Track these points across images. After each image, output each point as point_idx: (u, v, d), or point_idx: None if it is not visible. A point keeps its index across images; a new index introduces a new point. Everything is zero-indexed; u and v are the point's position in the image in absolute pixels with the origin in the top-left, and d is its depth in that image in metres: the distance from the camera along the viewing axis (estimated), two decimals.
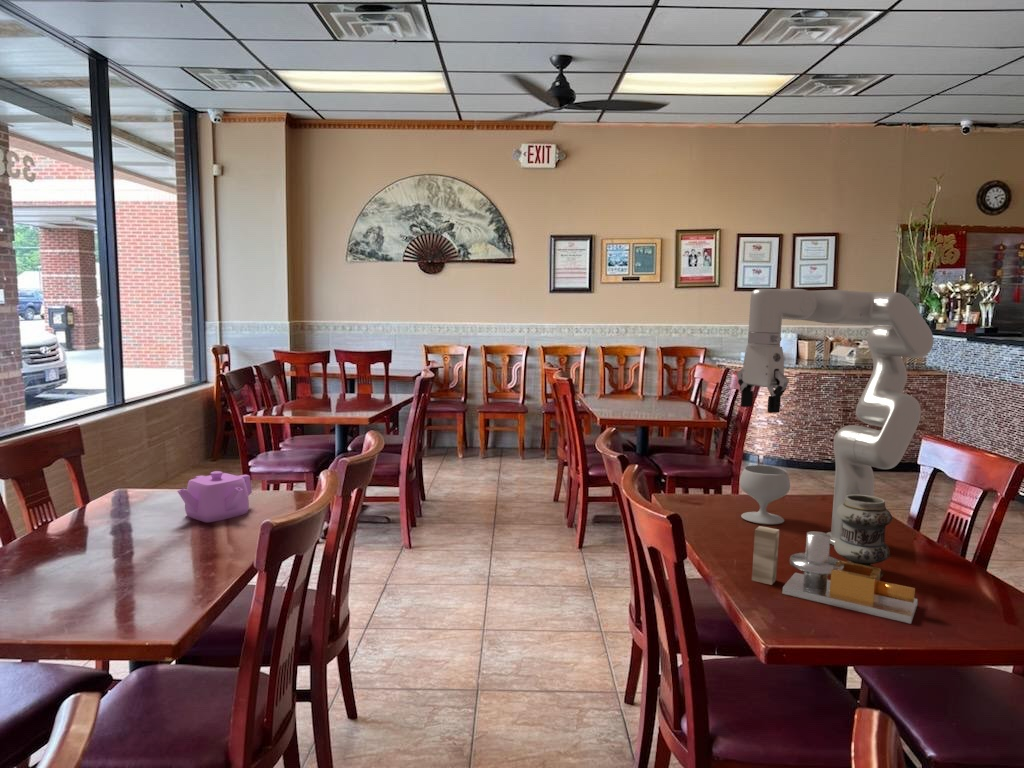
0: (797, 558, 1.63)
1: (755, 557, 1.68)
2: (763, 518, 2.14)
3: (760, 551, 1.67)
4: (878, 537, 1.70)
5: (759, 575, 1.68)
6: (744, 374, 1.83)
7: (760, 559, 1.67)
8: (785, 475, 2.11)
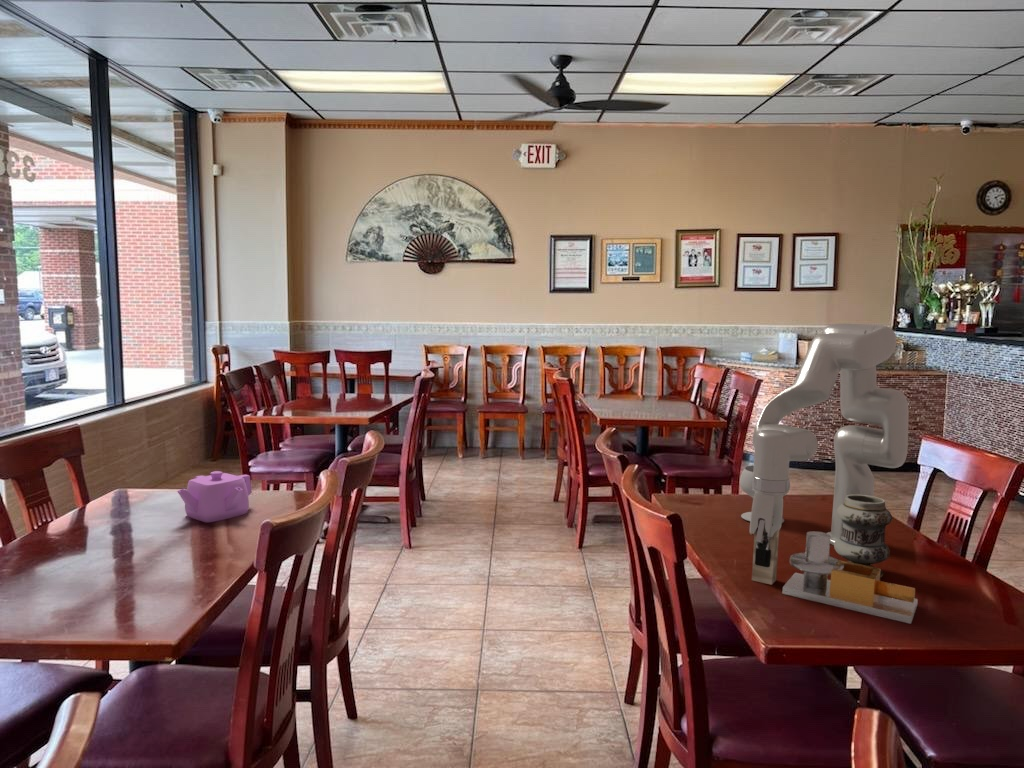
0: (797, 558, 1.63)
1: None
2: None
3: None
4: (878, 537, 1.70)
5: (759, 575, 1.68)
6: (772, 528, 1.63)
7: None
8: None
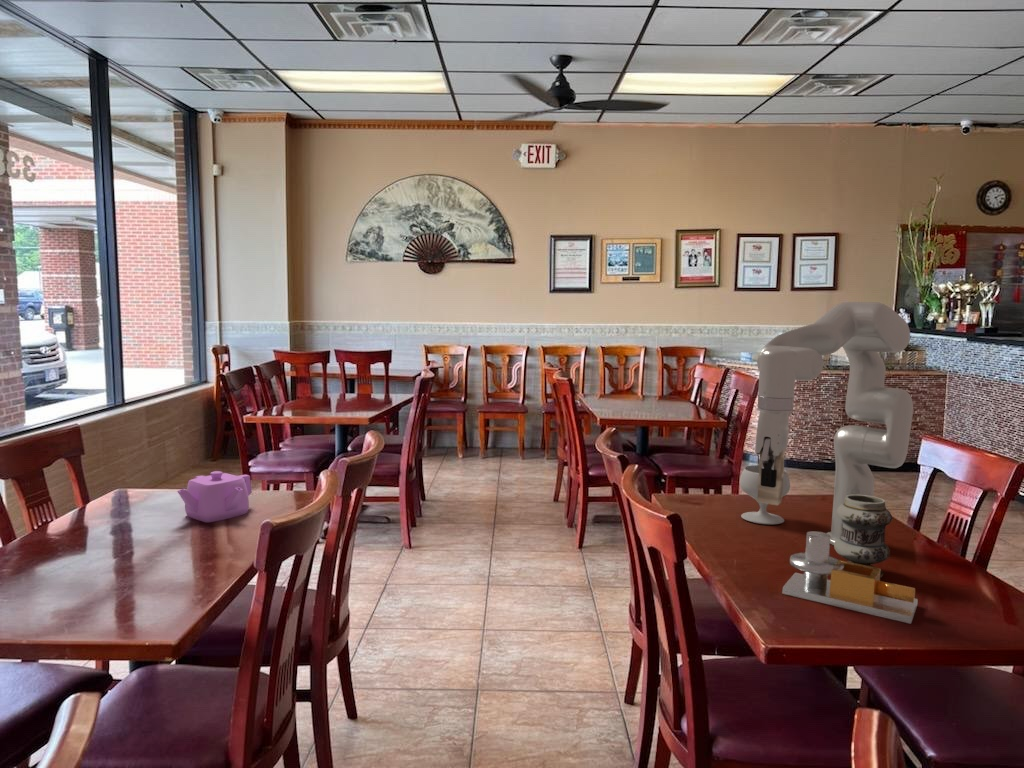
0: (797, 558, 1.63)
1: (760, 478, 1.66)
2: (763, 518, 2.14)
3: None
4: (878, 537, 1.70)
5: (765, 496, 1.66)
6: (778, 447, 1.61)
7: None
8: (785, 475, 2.11)
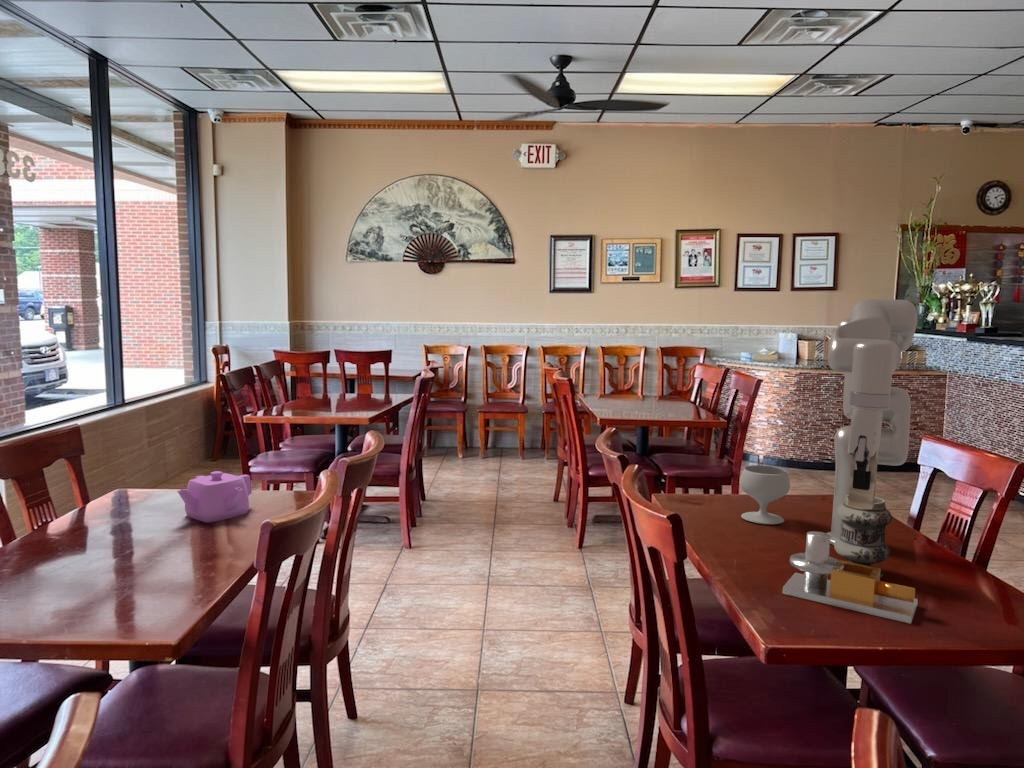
0: (797, 558, 1.63)
1: (852, 480, 1.55)
2: (763, 518, 2.14)
3: None
4: (878, 537, 1.70)
5: (857, 500, 1.55)
6: (874, 446, 1.50)
7: None
8: (785, 475, 2.11)
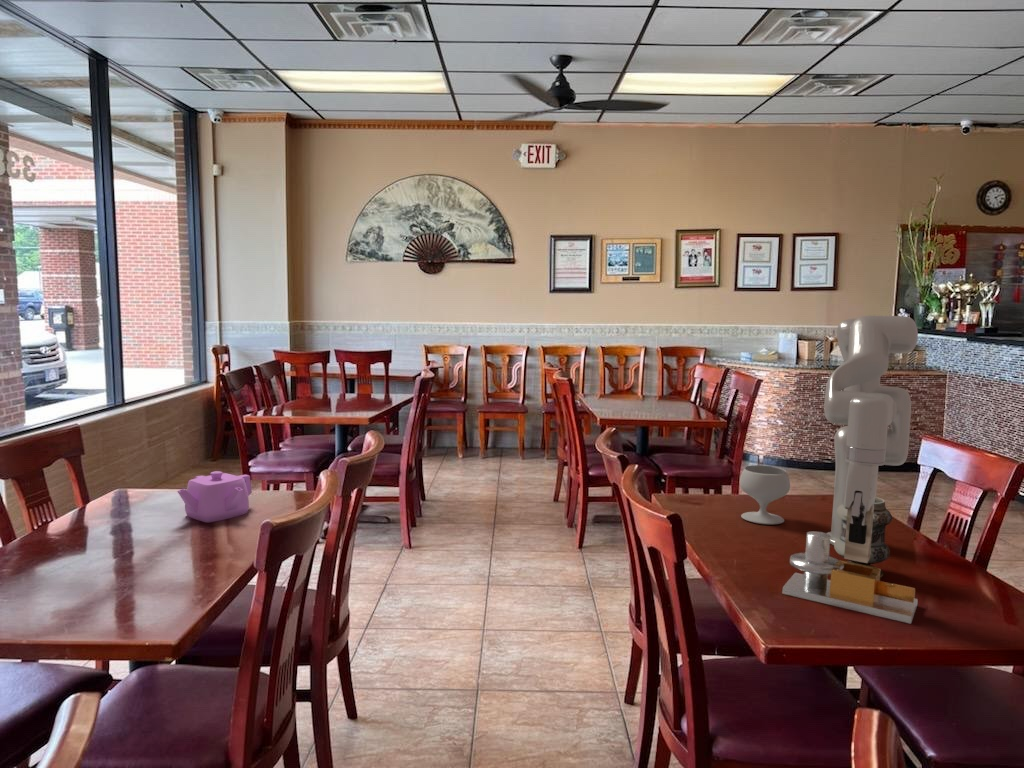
0: (797, 558, 1.63)
1: (848, 533, 1.56)
2: (763, 518, 2.14)
3: None
4: (878, 537, 1.70)
5: (853, 553, 1.56)
6: (870, 501, 1.51)
7: None
8: (785, 475, 2.11)
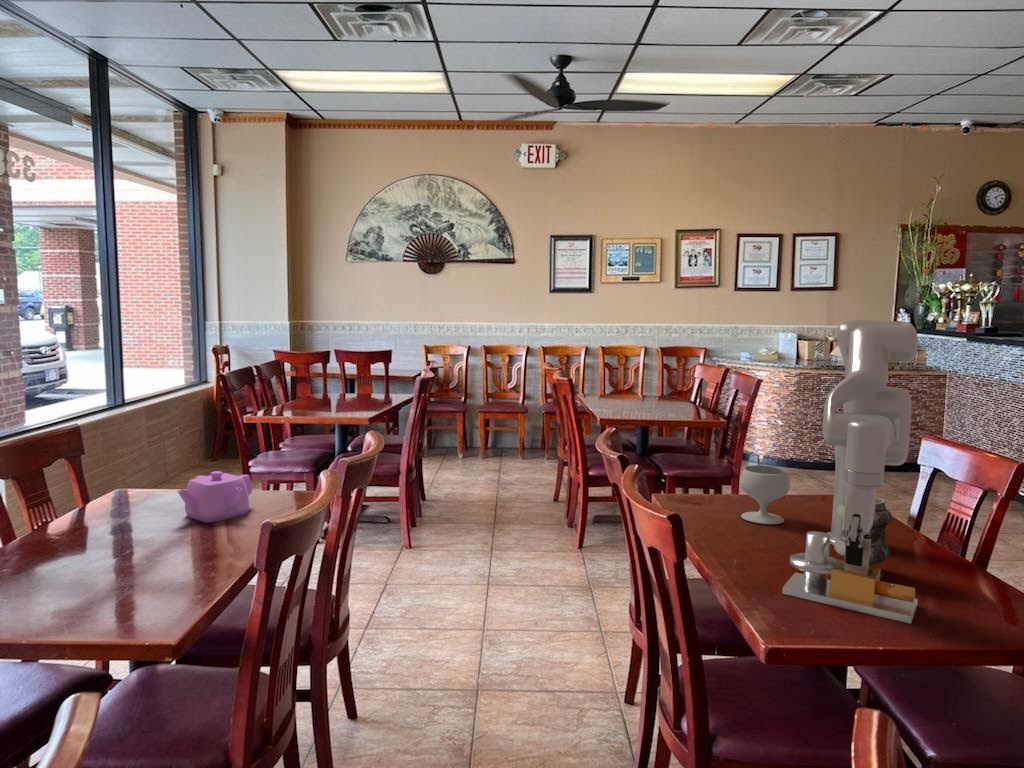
0: (797, 558, 1.63)
1: (846, 570, 1.57)
2: (763, 518, 2.14)
3: None
4: (878, 537, 1.70)
5: None
6: (868, 525, 1.52)
7: (852, 571, 1.56)
8: (785, 475, 2.11)
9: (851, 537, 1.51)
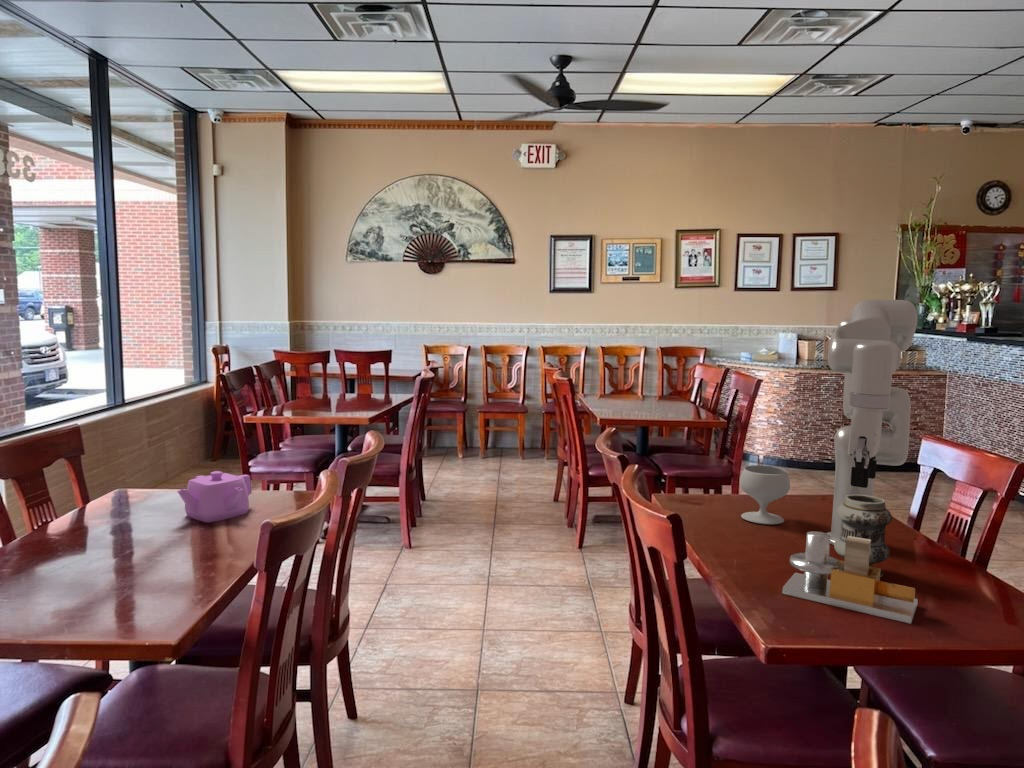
0: (797, 558, 1.63)
1: (846, 570, 1.57)
2: (763, 518, 2.14)
3: (851, 563, 1.56)
4: (878, 537, 1.70)
5: None
6: (874, 447, 1.50)
7: (852, 571, 1.56)
8: (785, 475, 2.11)
9: (857, 456, 1.48)
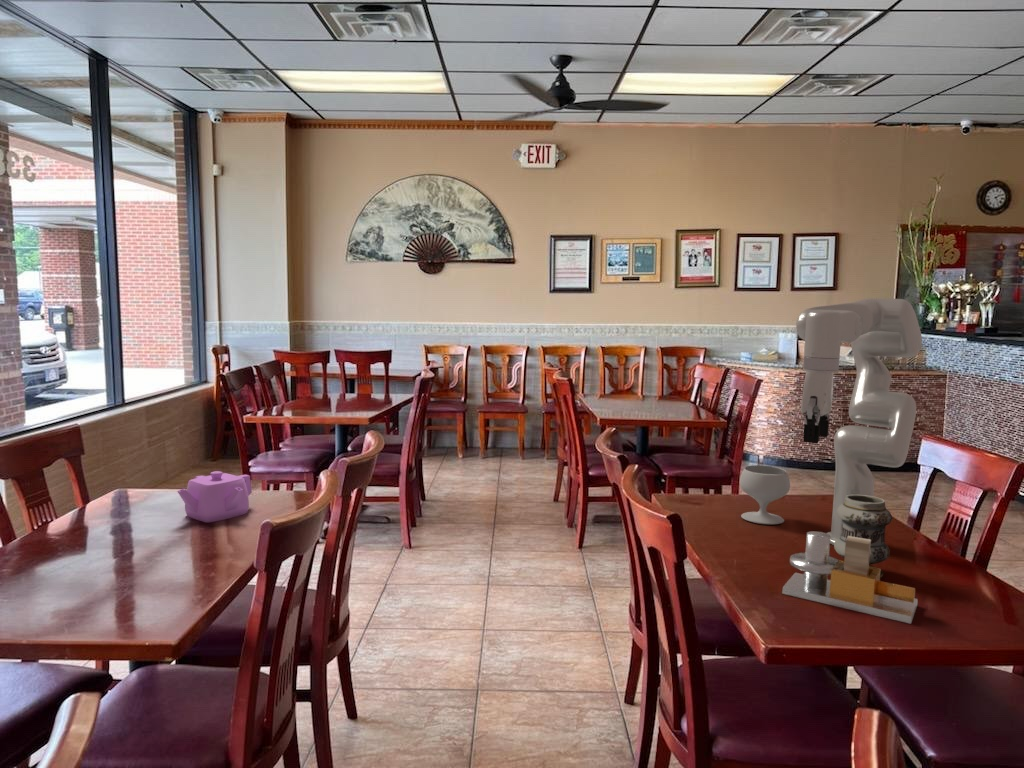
0: (797, 558, 1.63)
1: (846, 570, 1.57)
2: (763, 518, 2.14)
3: (851, 563, 1.56)
4: (878, 537, 1.70)
5: None
6: (824, 406, 1.64)
7: (852, 571, 1.56)
8: (785, 475, 2.11)
9: (808, 413, 1.62)
